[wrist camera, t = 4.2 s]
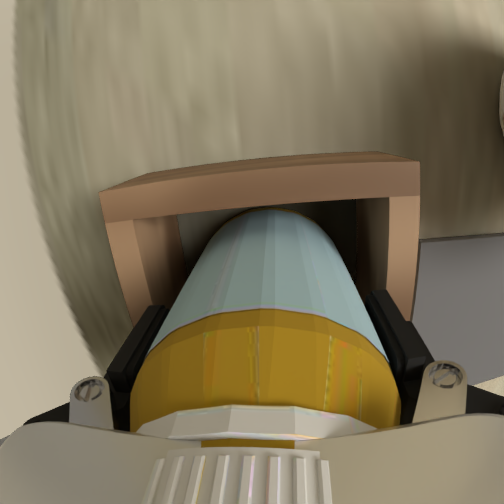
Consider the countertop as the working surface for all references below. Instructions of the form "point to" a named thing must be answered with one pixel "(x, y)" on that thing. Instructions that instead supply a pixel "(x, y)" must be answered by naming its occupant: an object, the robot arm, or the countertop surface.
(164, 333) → the bottle
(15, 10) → the countertop surface
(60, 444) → the robot arm
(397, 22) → the countertop surface
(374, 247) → the brown open frame
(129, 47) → the countertop surface
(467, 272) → the mat
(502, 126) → the teacup
